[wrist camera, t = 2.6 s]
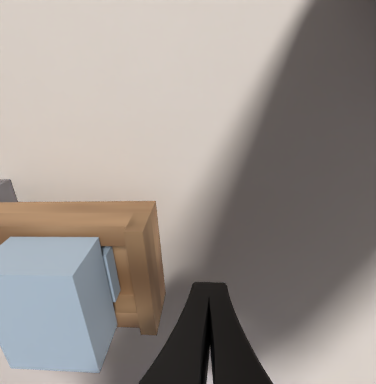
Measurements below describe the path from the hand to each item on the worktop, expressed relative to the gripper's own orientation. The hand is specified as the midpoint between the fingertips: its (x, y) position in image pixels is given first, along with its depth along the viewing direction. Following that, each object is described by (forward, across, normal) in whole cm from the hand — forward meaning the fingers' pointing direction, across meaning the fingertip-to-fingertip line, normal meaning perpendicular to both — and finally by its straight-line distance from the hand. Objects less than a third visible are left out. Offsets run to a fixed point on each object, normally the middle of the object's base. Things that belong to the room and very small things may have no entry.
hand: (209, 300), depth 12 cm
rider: (+2, +7, 0) cm, 7 cm away
